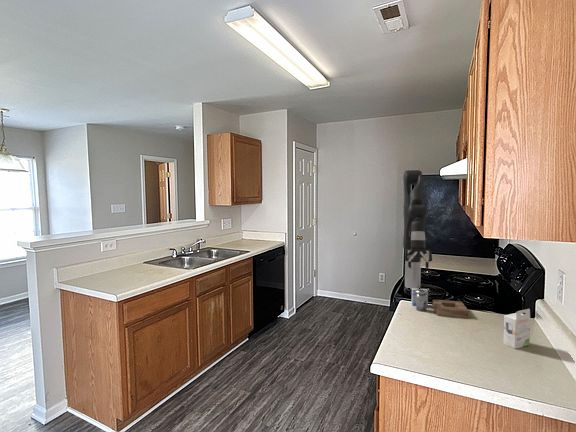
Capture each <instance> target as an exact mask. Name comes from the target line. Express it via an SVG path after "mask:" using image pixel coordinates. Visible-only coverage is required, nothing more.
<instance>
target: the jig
mask: <svg viewBox="0 0 576 432" xmlns="http://www.w3.org/2000/svg"><path fill="white" fill-rule="evenodd" d="M431 304H432V308H433V311H434V312H435V314H436V316H437V317H438V316H440V317H452V318H464V319H469V318H470V317H469V316H470V314H469V313H470V311H469V309H468V308H467V307H466V306H465V304H464V303H463V302H462V301H458V300H456V301H455V300H444V299H432V303H431Z"/></svg>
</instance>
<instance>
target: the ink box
mask: <svg viewBox="0 0 576 432" xmlns="http://www.w3.org/2000/svg"><path fill="white" fill-rule="evenodd" d="M530 336H531V309H530V308H527V309H522V310H518V311H516V312H515V313H509V314H505V315H503V345H505V346H508V347H510V348H512V349H514V350H515V349H520V348H523V347H524V348H525V347H526V346H527V345H528V346H530V343H531V342H530V340H531V339H530V338H531V337H530Z"/></svg>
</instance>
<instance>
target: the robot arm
mask: <svg viewBox="0 0 576 432" xmlns="http://www.w3.org/2000/svg"><path fill="white" fill-rule="evenodd" d="M402 179H403V196H404V197H403V237H402V241H403V242H402V248H403V250H404V260H405V261H404V263H405V264H404V288H406V289H408V288H410V289H409V290H412V288H420V289H421V276H422V275H421V270H422V268H421V267H422V265H421V264H422V261H421V259H423V260H424V261H425V270H428V269H429V266H430V264H429V263H430V262H432V261H433V254H432V252H433V251H432V250H431V249H430V250H426V233H425V232H426V231H425V227H426V226H425V224H426V219H427V216H428V212H429V208H428V207H427V205H425V204H424V199H423V172H422V170H419V169H416V170H415V169H414V170H413V169H411V170H409V169H408V170H404V172H403V177H402ZM410 185H411V186H412V185H415V186H414V187H413V188H412V190H411V188H410ZM419 218H420V219H419ZM418 219H419V220H418ZM410 231H411V233H410ZM409 253H410V254H409ZM426 254H427V255H428V258H427V257H426Z"/></svg>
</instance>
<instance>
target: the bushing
mask: <svg viewBox="0 0 576 432" xmlns="http://www.w3.org/2000/svg"><path fill="white" fill-rule="evenodd" d="M423 289H424V288H420V289H417V290H415V292H416V306H415V310H416V311H418V312H427V307H426V294H428V295H429V290H428V289H427V290H428V291H427V290H423Z"/></svg>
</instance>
